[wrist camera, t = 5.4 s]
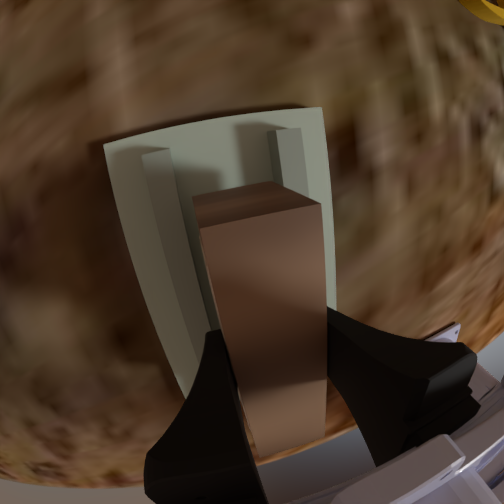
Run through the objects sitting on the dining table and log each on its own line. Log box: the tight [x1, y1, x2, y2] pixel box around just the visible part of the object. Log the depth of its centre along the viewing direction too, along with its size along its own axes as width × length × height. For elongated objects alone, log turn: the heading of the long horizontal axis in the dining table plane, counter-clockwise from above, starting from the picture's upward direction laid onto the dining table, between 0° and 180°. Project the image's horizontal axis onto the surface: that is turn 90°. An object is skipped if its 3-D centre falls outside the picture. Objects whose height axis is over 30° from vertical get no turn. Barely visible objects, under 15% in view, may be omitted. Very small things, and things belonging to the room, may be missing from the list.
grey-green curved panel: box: [103, 107, 336, 400], centre depth 16 cm, size 18×11×2 cm, turn 9°
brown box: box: [192, 181, 327, 458], centre depth 13 cm, size 12×4×5 cm, turn 9°
